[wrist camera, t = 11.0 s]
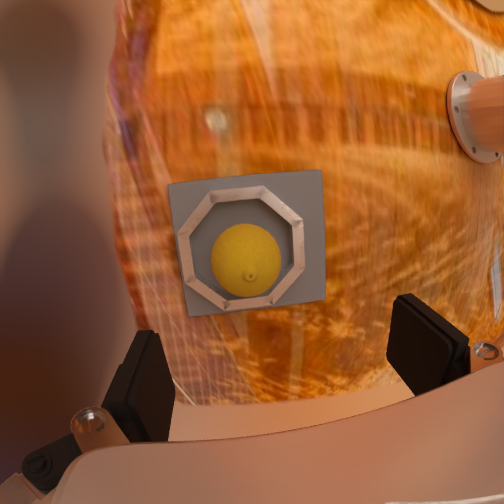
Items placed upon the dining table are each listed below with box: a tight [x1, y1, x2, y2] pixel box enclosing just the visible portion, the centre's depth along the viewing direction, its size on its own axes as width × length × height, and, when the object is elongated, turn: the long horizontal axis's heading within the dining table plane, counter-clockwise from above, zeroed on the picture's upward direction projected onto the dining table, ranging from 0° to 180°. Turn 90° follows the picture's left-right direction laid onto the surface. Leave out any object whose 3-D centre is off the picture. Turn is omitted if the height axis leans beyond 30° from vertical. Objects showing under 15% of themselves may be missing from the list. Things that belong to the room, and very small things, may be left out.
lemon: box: [211, 224, 281, 297], centre depth 24 cm, size 6×6×8 cm
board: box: [168, 170, 326, 317], centre depth 28 cm, size 14×13×1 cm
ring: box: [177, 185, 305, 311], centre depth 27 cm, size 11×11×2 cm
